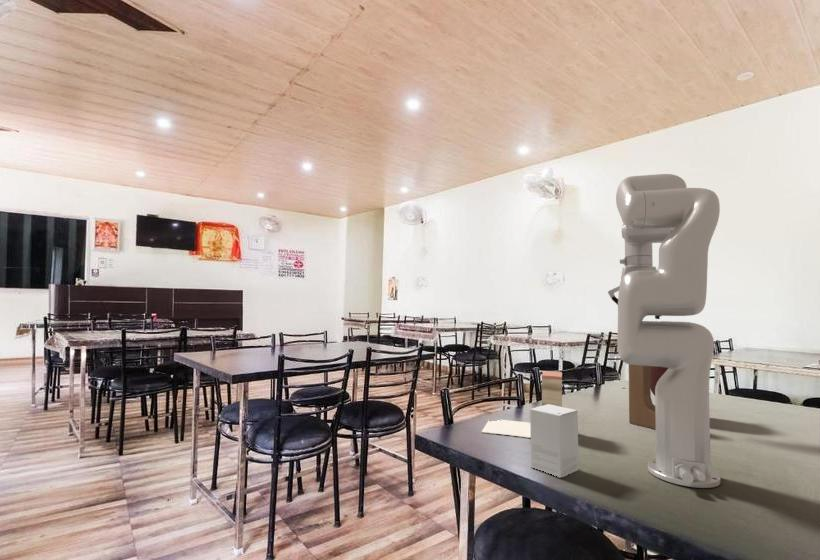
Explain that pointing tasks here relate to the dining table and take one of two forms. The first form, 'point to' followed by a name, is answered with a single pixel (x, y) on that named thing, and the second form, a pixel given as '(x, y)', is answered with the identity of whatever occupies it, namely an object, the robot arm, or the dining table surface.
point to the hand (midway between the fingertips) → (639, 318)
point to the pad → (508, 428)
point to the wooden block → (640, 397)
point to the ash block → (552, 388)
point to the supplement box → (554, 439)
